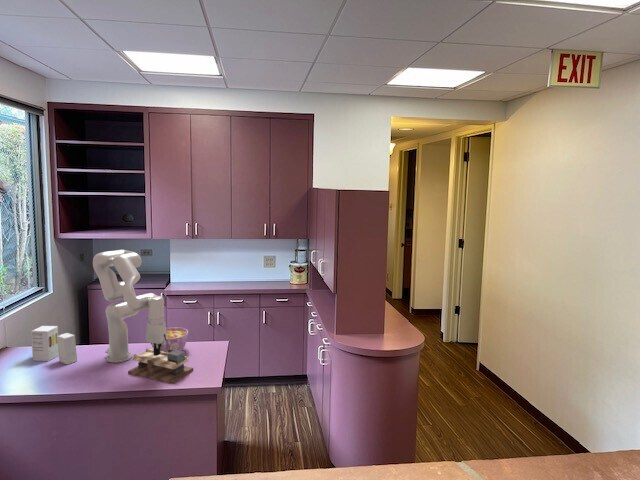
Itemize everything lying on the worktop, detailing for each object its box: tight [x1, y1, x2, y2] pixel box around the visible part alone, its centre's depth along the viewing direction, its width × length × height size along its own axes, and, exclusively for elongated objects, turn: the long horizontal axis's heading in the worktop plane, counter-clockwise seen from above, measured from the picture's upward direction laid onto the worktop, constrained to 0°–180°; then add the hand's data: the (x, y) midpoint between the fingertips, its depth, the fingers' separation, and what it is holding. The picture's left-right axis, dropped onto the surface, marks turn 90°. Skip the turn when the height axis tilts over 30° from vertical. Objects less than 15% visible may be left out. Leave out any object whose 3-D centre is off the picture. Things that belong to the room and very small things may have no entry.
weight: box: [167, 350, 186, 364], centre depth 217 cm, size 6×6×4 cm
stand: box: [127, 349, 194, 384], centre depth 221 cm, size 28×16×9 cm, turn 69°
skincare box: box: [57, 332, 78, 365], centre depth 231 cm, size 8×6×15 cm
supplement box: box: [30, 325, 59, 362], centre depth 236 cm, size 10×9×17 cm
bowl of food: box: [160, 326, 189, 352], centre depth 247 cm, size 20×20×12 cm
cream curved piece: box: [132, 347, 189, 369], centre depth 221 cm, size 26×14×3 cm, turn 69°
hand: (157, 354), depth 221 cm, fingers closed
